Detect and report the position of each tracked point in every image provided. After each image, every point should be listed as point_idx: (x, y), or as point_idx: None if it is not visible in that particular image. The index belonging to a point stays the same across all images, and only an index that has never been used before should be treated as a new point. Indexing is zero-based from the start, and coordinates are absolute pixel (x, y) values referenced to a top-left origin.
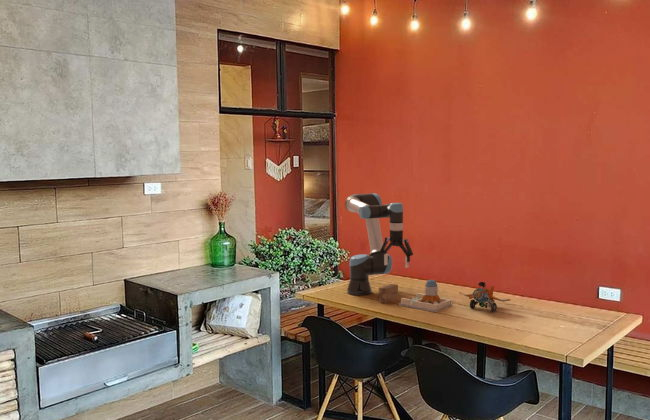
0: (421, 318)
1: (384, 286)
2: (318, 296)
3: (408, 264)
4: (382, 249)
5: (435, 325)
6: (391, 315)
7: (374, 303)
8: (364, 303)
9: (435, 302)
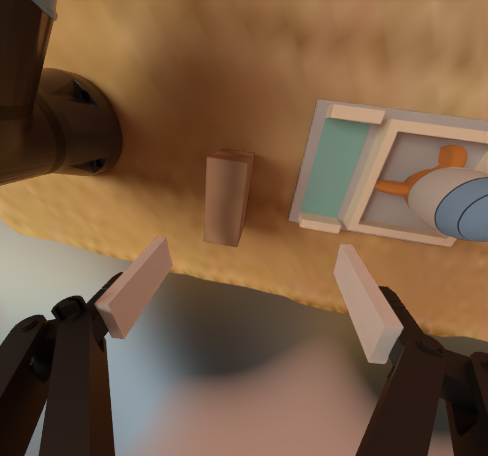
0: None
1: (213, 218)
2: (49, 233)
3: (359, 259)
4: (47, 389)
5: (443, 334)
6: (311, 305)
7: None
8: (191, 242)
9: (425, 143)
